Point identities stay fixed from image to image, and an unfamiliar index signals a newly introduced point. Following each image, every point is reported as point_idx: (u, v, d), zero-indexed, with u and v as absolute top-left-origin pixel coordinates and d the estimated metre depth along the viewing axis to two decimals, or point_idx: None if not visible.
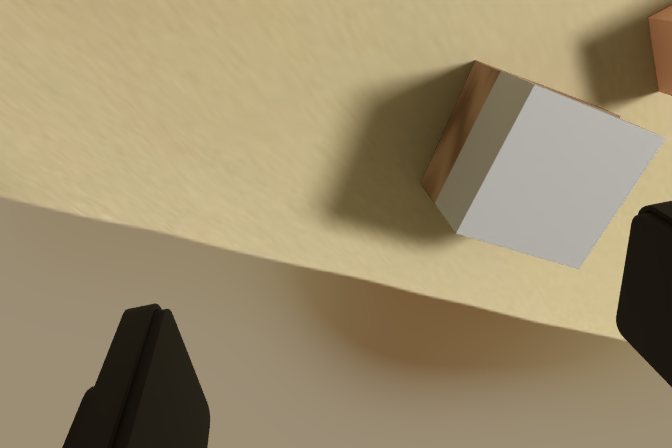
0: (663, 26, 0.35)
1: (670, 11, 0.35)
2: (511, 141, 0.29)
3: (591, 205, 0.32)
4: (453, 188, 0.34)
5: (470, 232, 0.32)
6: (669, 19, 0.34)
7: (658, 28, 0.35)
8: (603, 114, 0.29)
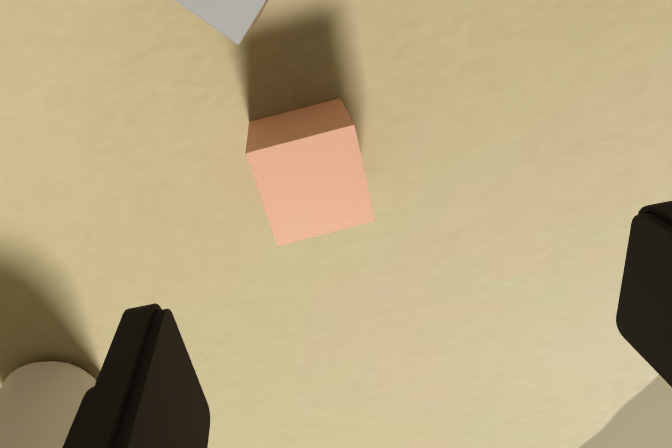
0: (335, 105, 0.30)
1: None
2: None
3: None
4: None
5: None
6: (344, 107, 0.30)
7: (331, 104, 0.31)
8: None
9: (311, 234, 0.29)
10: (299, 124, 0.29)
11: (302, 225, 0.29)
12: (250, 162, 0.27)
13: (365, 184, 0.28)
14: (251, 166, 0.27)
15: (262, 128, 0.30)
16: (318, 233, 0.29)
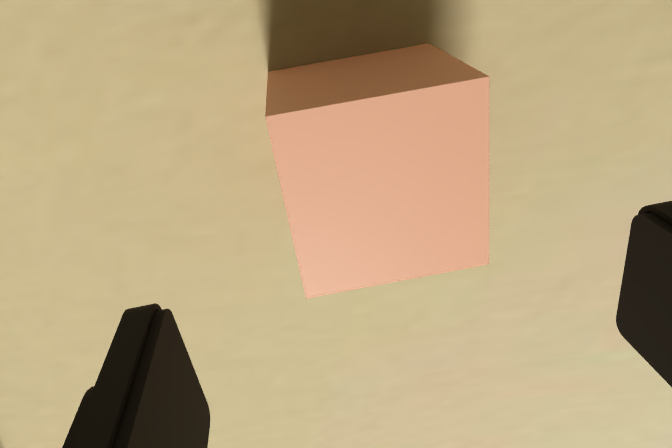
0: (425, 52, 0.17)
1: None
2: None
3: None
4: None
5: None
6: (445, 54, 0.16)
7: (416, 50, 0.17)
8: None
9: (371, 281, 0.16)
10: (367, 75, 0.15)
11: (357, 264, 0.15)
12: (273, 136, 0.13)
13: (485, 197, 0.15)
14: (274, 144, 0.13)
15: (294, 79, 0.16)
16: (384, 280, 0.16)
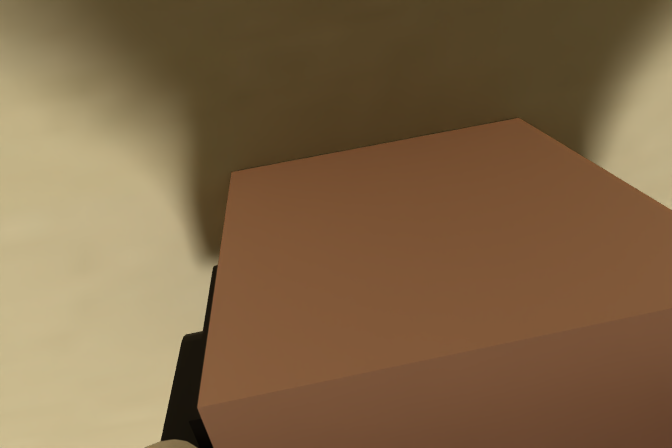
0: (532, 147, 0.09)
1: None
2: None
3: None
4: None
5: None
6: (575, 156, 0.08)
7: (507, 139, 0.09)
8: None
9: None
10: (437, 221, 0.07)
11: None
12: (222, 444, 0.05)
13: None
14: None
15: (279, 212, 0.08)
16: None
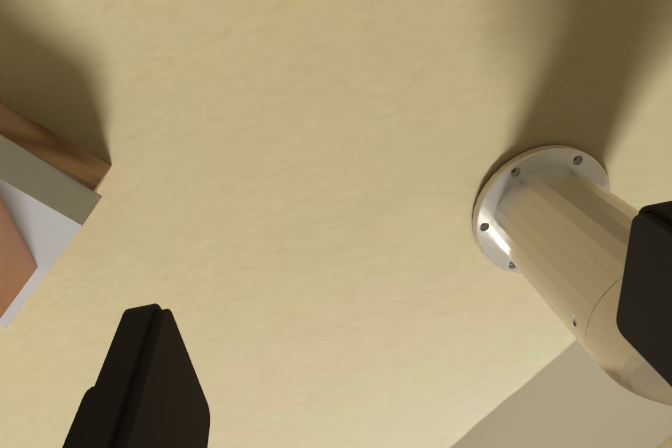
0: None
1: None
2: (26, 200, 0.30)
3: None
4: None
5: None
6: None
7: None
8: (41, 278, 0.33)
9: None
10: None
11: None
12: None
13: None
14: None
15: None
16: None
